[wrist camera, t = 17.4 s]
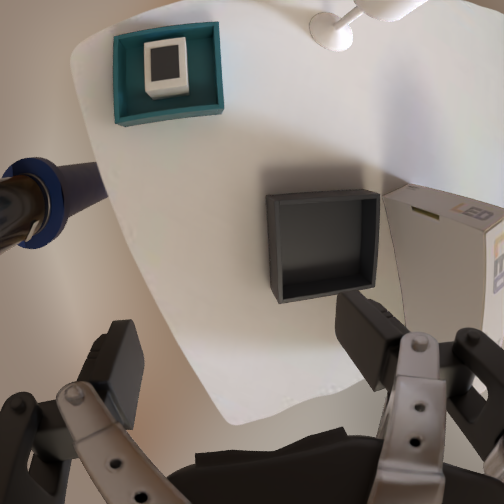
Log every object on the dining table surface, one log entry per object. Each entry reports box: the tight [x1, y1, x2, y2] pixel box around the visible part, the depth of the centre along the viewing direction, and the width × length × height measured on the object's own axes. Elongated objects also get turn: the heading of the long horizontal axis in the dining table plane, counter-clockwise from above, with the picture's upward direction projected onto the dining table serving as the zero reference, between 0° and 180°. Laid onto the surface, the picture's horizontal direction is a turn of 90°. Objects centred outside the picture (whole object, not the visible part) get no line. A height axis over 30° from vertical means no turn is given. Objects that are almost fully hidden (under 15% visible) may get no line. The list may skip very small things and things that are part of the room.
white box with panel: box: [144, 37, 190, 100], centre depth 28 cm, size 4×6×6 cm
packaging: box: [382, 184, 504, 394], centre depth 37 cm, size 30×6×20 cm, turn 22°
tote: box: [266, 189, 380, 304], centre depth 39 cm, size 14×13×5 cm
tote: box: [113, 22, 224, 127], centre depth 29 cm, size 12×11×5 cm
